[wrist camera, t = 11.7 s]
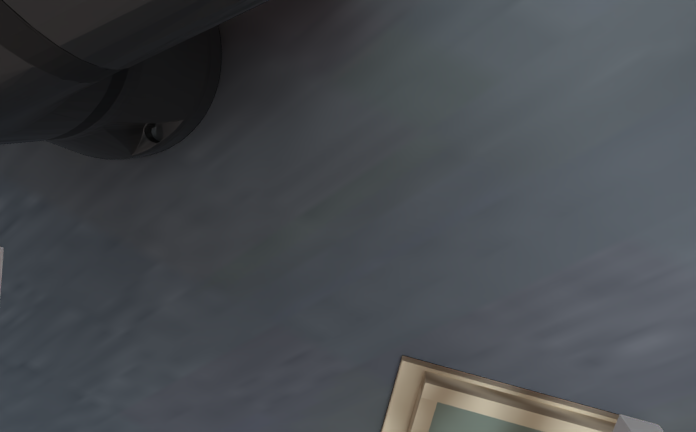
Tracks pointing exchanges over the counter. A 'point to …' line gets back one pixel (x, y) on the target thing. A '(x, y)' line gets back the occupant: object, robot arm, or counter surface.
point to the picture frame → (480, 405)
